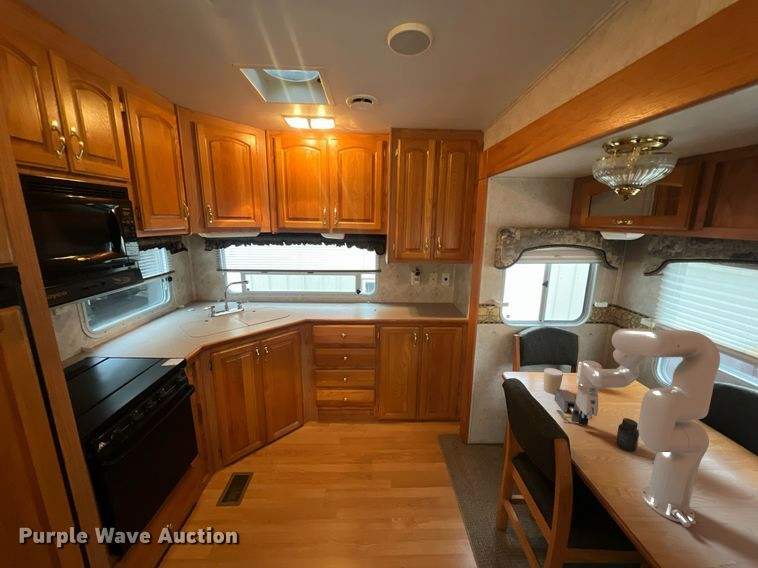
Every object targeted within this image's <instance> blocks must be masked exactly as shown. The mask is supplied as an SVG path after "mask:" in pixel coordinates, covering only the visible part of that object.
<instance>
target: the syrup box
mask: <svg viewBox="0 0 758 568" xmlns="http://www.w3.org/2000/svg"><path fill="white" fill-rule="evenodd" d="M582 362H583V361H578V365H577V366H578V367H577V373H576V374H577V375H576V381H575V382H576V383H577V384H578V383H579V377H580V370H581V363H582ZM577 384H576V385H577Z"/></svg>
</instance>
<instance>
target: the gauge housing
mask: <svg viewBox="0 0 758 568" xmlns="http://www.w3.org/2000/svg"><path fill="white" fill-rule="evenodd" d="M554 401H555V403H556V404H557V406H558V407H559V408H560V410H558V409H557V410H555V412H556V414H557V415H558V417H559V418H560V419H561V421H562V422H563V423H567V424H568V423H569V420H568V418H564V416H565V414H564V413H566V414H567V411H568V403H570V404H571V405H572V406H573V408H574V409H576V410H578V408H579V407H578V406H577V405H576V397H574V395H573V394H572V393H571V392H570V391H569V390H567V389H560V390H559V389H556V392H555V394H554Z"/></svg>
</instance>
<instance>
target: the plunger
mask: <svg viewBox="0 0 758 568" xmlns="http://www.w3.org/2000/svg"><path fill="white" fill-rule="evenodd" d="M567 409H569V410H570V412H571V416H570V415H564V418H566V419H571V420H570V421H571V422H573V423H578V420H579V409H577V410H576V409H574V408H573V406H572V405H571V404H570V403H568V407H567Z"/></svg>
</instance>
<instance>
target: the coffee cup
mask: <svg viewBox="0 0 758 568" xmlns="http://www.w3.org/2000/svg"><path fill="white" fill-rule="evenodd" d="M563 377H564V374H563V371H561V370H559V369H556V368H552V367H545V368H544V370H543V391H544V392H546V393H548V394H551V395H555V392H556V389H559V390H561V386H562V382H563V381H562V380H563Z"/></svg>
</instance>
